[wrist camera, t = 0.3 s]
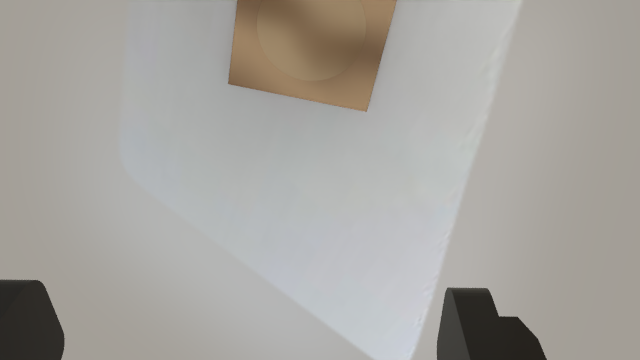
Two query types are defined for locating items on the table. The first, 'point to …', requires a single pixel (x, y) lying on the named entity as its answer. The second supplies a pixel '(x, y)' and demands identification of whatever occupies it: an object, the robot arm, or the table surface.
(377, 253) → the table surface
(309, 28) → the coaster
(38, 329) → the robot arm
